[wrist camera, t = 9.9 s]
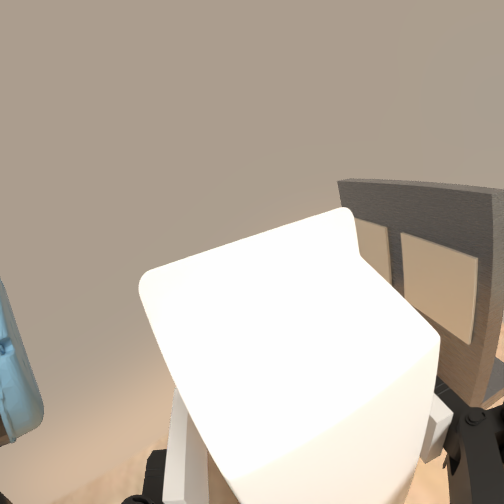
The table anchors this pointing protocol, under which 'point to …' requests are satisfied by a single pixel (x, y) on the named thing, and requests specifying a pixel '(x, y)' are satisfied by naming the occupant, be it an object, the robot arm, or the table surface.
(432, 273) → the label panel
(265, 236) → the milk
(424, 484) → the table surface
